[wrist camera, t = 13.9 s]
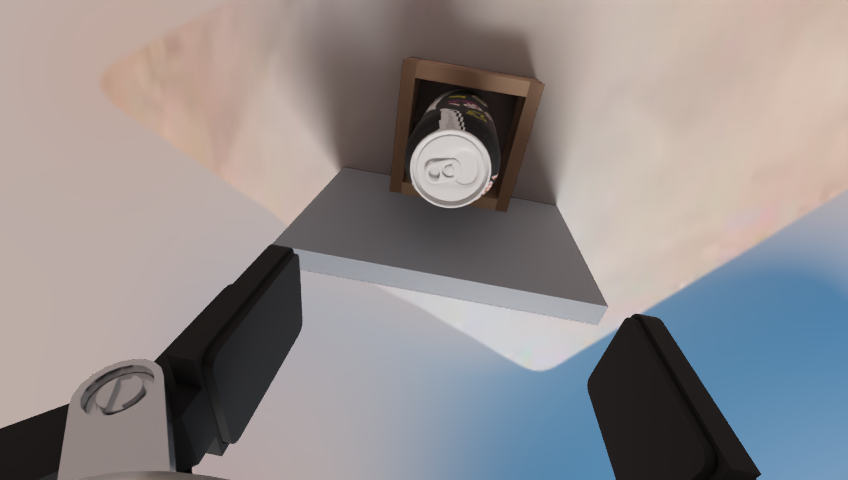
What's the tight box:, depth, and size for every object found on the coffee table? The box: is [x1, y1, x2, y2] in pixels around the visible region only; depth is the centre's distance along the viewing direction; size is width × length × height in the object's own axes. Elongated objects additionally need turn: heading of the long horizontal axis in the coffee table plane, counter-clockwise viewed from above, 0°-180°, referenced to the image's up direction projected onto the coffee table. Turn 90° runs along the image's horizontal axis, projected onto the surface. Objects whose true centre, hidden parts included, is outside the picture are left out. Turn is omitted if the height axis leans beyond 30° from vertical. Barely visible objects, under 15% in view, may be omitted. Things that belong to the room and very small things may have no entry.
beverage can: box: [404, 89, 501, 208], centre depth 25 cm, size 6×6×12 cm
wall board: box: [273, 167, 608, 325], centre depth 27 cm, size 20×2×14 cm, turn 82°
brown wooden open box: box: [389, 57, 545, 212], centre depth 29 cm, size 10×10×4 cm
